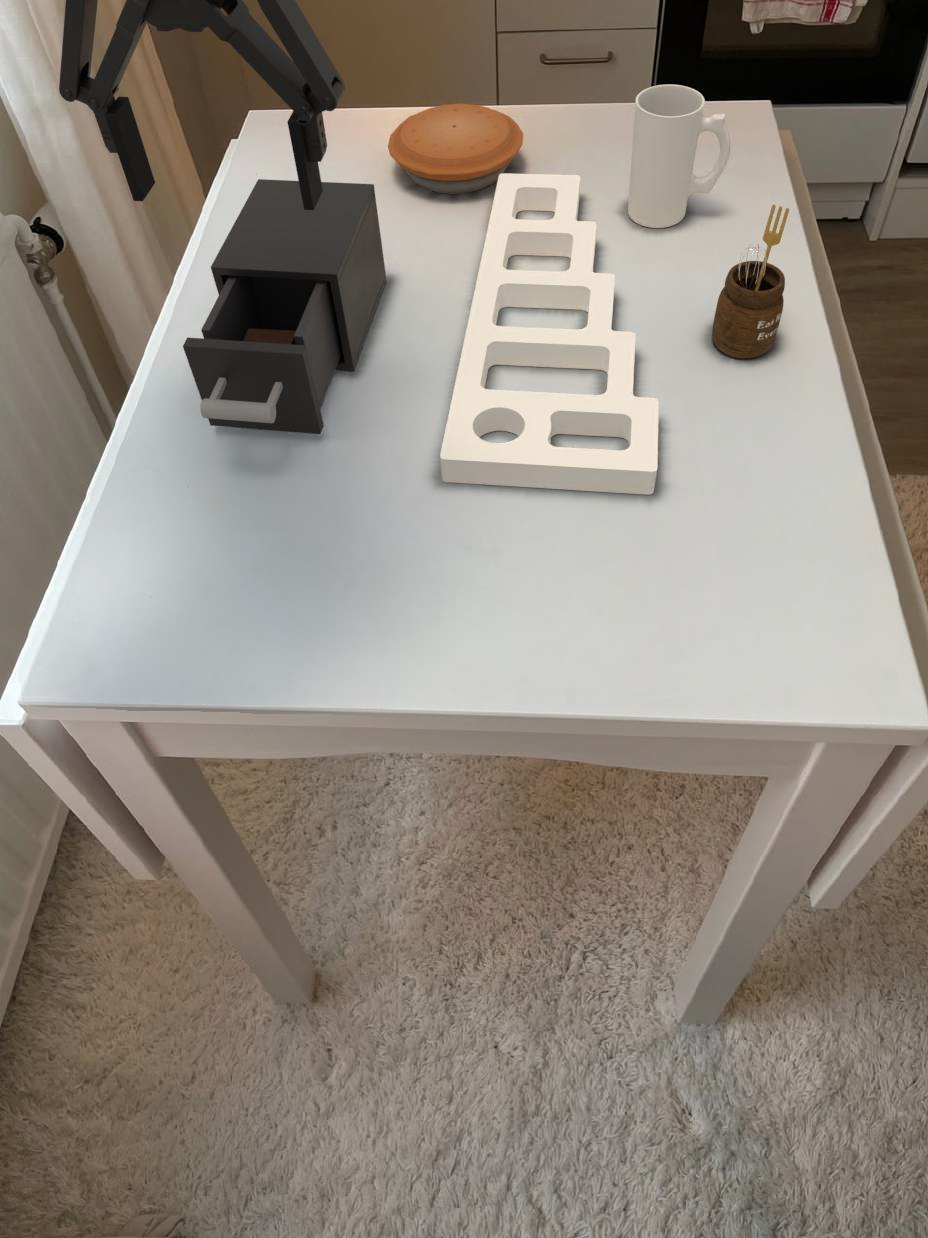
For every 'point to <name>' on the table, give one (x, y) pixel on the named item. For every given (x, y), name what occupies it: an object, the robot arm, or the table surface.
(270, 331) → the block
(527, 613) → the table surface
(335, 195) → the cabinet
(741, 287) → the utensil holder
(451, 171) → the pie
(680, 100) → the mug
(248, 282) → the drawer
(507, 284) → the holder
